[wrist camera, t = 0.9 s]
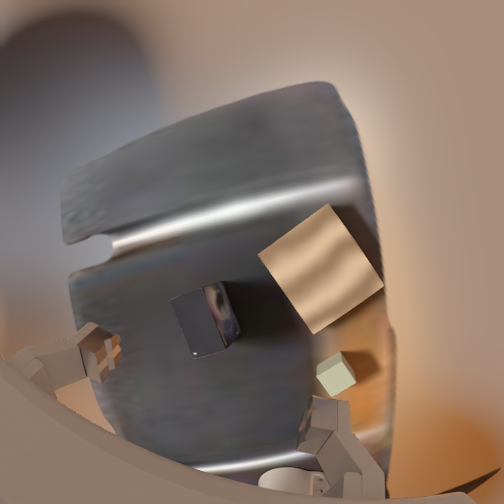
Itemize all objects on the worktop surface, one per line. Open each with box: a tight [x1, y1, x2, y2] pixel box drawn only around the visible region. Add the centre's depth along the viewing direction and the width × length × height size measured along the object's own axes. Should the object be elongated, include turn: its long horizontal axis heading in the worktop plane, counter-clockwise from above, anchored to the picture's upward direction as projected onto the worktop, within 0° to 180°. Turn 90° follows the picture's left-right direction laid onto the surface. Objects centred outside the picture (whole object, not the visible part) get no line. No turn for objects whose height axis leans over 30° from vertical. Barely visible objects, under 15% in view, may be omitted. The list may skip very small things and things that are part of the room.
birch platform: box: [258, 204, 384, 334], centre depth 48 cm, size 16×14×4 cm
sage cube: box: [316, 351, 356, 397], centre depth 47 cm, size 5×5×5 cm
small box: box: [170, 281, 242, 359], centre depth 49 cm, size 11×6×10 cm, turn 22°
